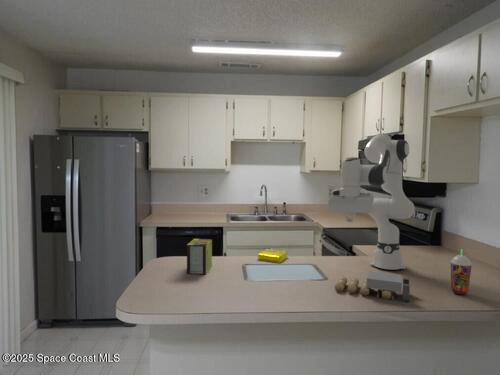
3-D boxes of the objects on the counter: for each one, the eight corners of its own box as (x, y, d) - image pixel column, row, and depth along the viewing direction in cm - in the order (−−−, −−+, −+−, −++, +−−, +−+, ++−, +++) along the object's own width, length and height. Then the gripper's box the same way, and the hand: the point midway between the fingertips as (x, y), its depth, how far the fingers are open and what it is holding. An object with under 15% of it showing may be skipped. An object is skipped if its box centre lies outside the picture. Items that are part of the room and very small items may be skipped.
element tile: (256, 261, 212) (256, 253, 212) (266, 255, 226) (266, 248, 226) (280, 264, 206) (280, 256, 206) (288, 258, 220) (288, 250, 219)
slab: (368, 279, 166) (369, 271, 166) (401, 283, 161) (401, 275, 161) (366, 287, 155) (366, 278, 155) (401, 292, 150) (401, 282, 150)
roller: (382, 288, 164) (384, 281, 164) (390, 292, 163) (393, 284, 162) (380, 297, 153) (383, 289, 153) (389, 301, 152) (392, 293, 151)
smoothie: (459, 296, 157) (462, 251, 156) (444, 289, 165) (446, 247, 164) (474, 294, 159) (477, 250, 158) (459, 288, 167) (461, 246, 166)
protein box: (212, 266, 199) (212, 239, 198) (206, 274, 183) (206, 245, 182) (193, 265, 200) (193, 238, 199) (186, 273, 184) (186, 244, 183)
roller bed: (339, 283, 172) (339, 275, 172) (394, 291, 162) (394, 283, 162) (334, 291, 161) (334, 283, 161) (393, 300, 151) (393, 291, 151)
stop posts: (402, 292, 160) (403, 277, 160) (408, 293, 159) (409, 278, 159) (402, 301, 150) (403, 285, 150) (409, 302, 149) (409, 286, 149)
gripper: (374, 192, 164) (373, 222, 164) (329, 191, 172) (329, 219, 172) (373, 193, 158) (372, 224, 159) (327, 191, 166) (326, 221, 167)
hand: (349, 221), depth 166 cm, fingers closed
